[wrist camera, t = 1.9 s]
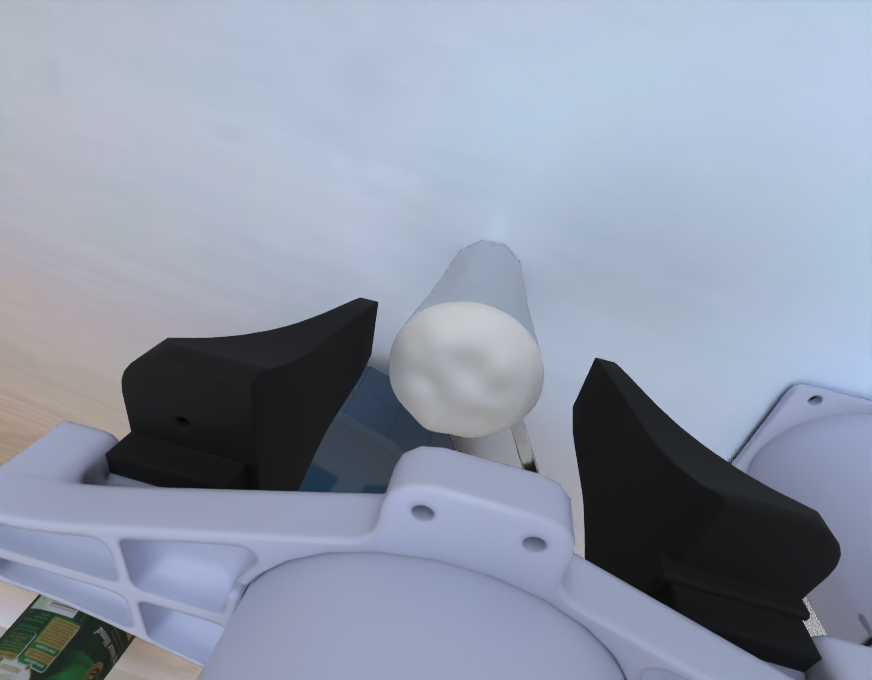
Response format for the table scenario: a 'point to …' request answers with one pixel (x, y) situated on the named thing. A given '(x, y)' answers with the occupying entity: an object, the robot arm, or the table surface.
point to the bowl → (367, 440)
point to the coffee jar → (60, 644)
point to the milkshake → (472, 351)
